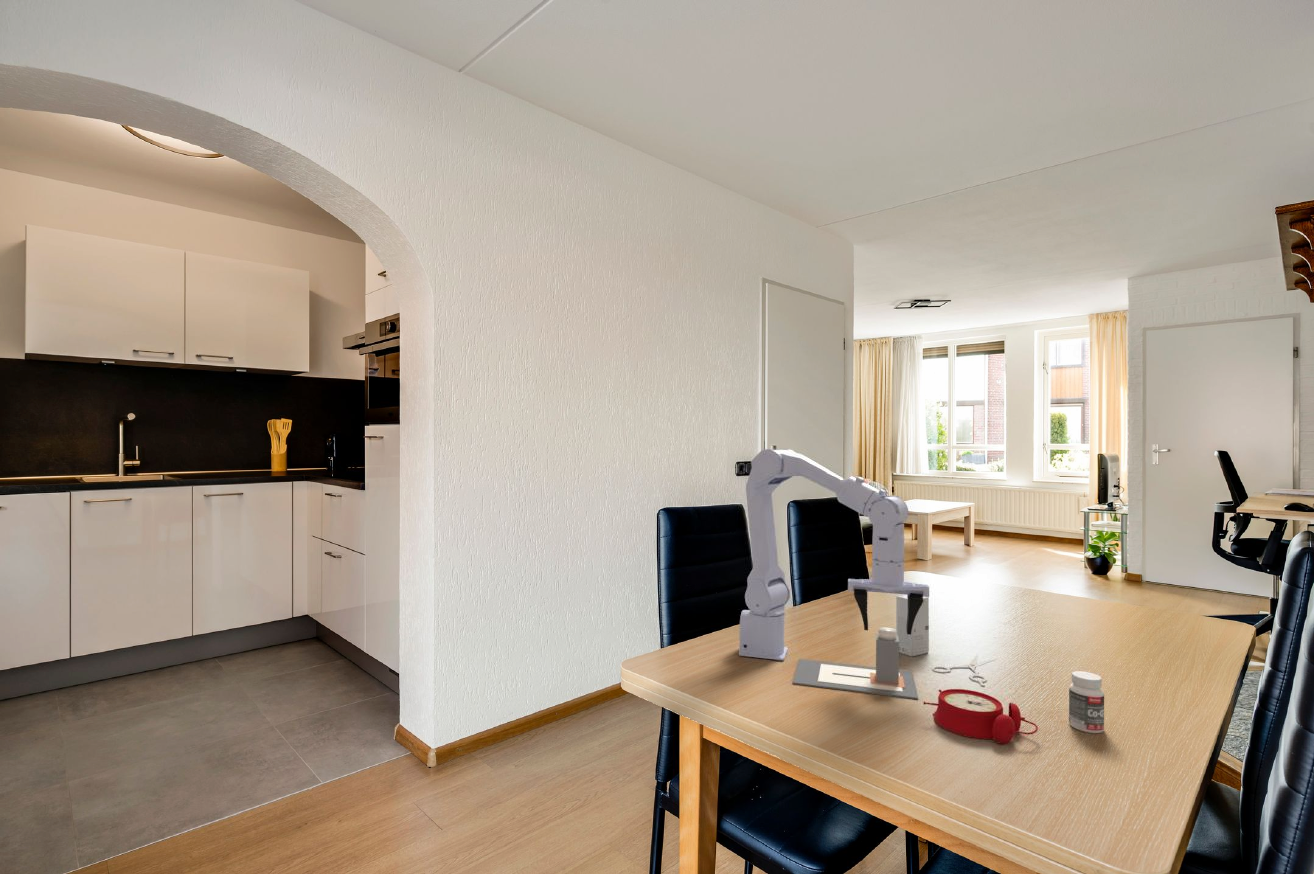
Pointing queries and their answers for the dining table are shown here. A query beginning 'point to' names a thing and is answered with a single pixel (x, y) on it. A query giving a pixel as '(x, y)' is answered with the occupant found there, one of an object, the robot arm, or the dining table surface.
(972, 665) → the scissors
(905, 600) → the skincare box
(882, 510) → the robot arm
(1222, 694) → the dining table surface
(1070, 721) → the pill bottle
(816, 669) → the mat
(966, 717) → the alarm clock
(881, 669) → the grey post with dome
